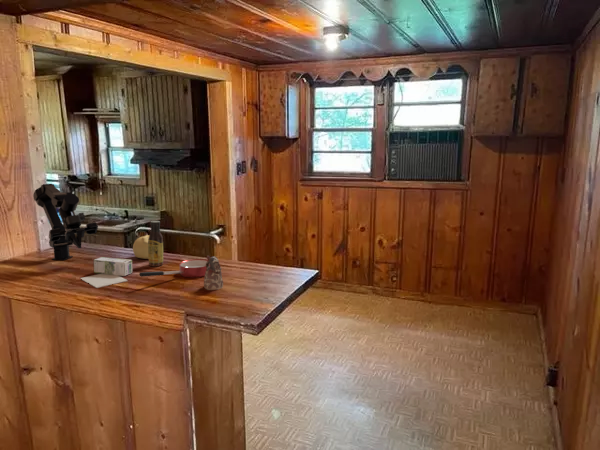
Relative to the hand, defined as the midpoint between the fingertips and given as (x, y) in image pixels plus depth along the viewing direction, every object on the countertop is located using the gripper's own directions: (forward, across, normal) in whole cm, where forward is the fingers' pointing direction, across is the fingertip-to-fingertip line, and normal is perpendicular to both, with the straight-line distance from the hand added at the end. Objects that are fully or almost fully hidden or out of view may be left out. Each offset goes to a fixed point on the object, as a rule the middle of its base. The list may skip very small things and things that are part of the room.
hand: (80, 247), depth 184 cm
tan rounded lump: (+8, +28, +8) cm, 31 cm away
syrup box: (+11, +3, -3) cm, 12 cm away
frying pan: (+35, +24, -22) cm, 48 cm away
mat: (+22, +1, -10) cm, 24 cm away
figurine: (+47, +30, -35) cm, 66 cm away
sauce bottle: (+18, +26, -3) cm, 32 cm away
